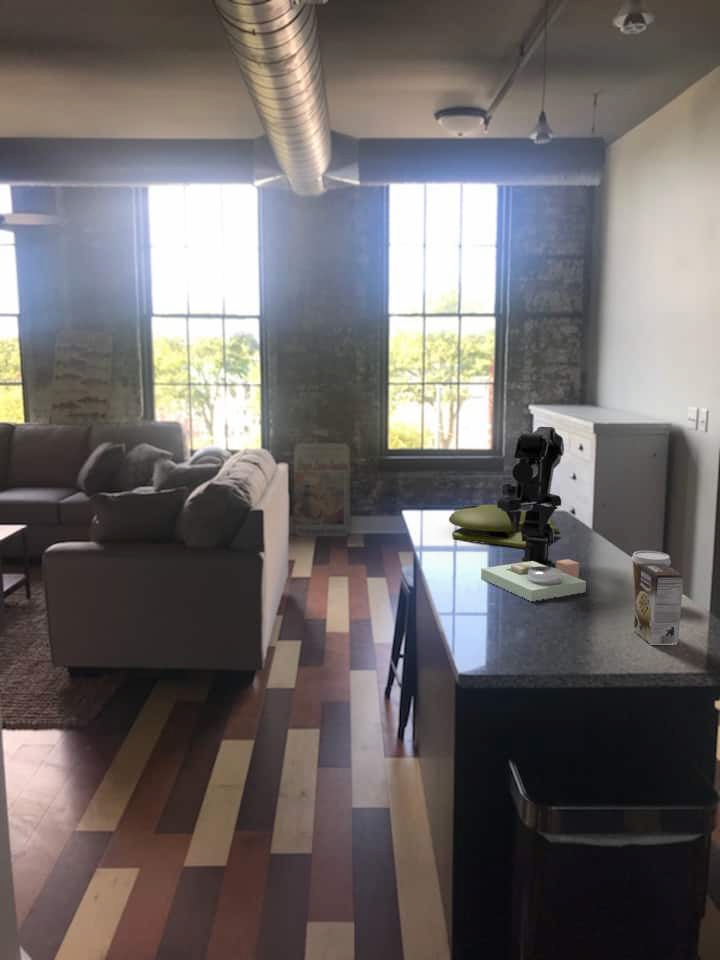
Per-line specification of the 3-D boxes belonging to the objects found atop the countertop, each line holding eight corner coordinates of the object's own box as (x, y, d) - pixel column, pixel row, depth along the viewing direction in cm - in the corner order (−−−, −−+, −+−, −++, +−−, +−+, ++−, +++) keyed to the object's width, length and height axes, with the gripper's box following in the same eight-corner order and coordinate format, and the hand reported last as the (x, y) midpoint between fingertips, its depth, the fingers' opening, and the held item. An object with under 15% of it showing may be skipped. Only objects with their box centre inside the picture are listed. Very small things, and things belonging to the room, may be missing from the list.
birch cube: (524, 578, 214) (524, 563, 213) (533, 582, 210) (534, 567, 209) (510, 580, 212) (511, 564, 211) (520, 584, 208) (520, 569, 207)
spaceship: (560, 532, 270) (562, 505, 268) (532, 551, 244) (533, 521, 242) (469, 521, 288) (470, 495, 286) (433, 537, 262) (434, 509, 260)
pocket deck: (532, 570, 221) (532, 560, 220) (585, 592, 201) (586, 581, 201) (481, 578, 213) (481, 568, 212) (531, 601, 193) (531, 590, 193)
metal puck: (547, 573, 207) (547, 565, 207) (569, 582, 199) (570, 573, 199) (520, 577, 204) (521, 569, 203) (542, 587, 196) (543, 577, 195)
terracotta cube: (567, 574, 218) (568, 559, 217) (578, 578, 214) (579, 563, 213) (555, 576, 216) (555, 561, 215) (566, 580, 212) (566, 565, 211)
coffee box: (632, 631, 173) (636, 562, 170) (659, 630, 174) (664, 562, 171) (650, 646, 164) (655, 574, 161) (679, 645, 165) (684, 574, 162)
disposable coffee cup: (667, 596, 198) (670, 552, 196) (669, 608, 189) (672, 561, 187) (628, 592, 201) (631, 548, 199) (628, 604, 192) (631, 558, 190)
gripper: (538, 471, 226) (536, 522, 229) (486, 475, 218) (485, 528, 221) (563, 477, 216) (561, 530, 219) (510, 481, 208) (508, 537, 211)
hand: (528, 531), depth 218 cm, fingers open, 9 cm apart
